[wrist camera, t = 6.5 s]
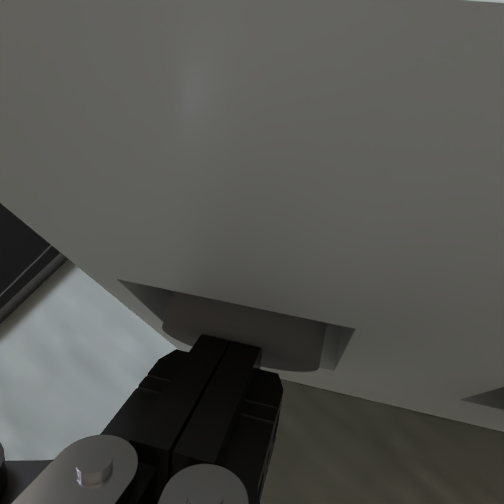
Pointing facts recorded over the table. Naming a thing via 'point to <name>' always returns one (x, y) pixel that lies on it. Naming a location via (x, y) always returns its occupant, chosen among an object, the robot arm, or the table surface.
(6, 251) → the phone
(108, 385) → the table surface
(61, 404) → the table surface
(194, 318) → the button
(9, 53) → the console
